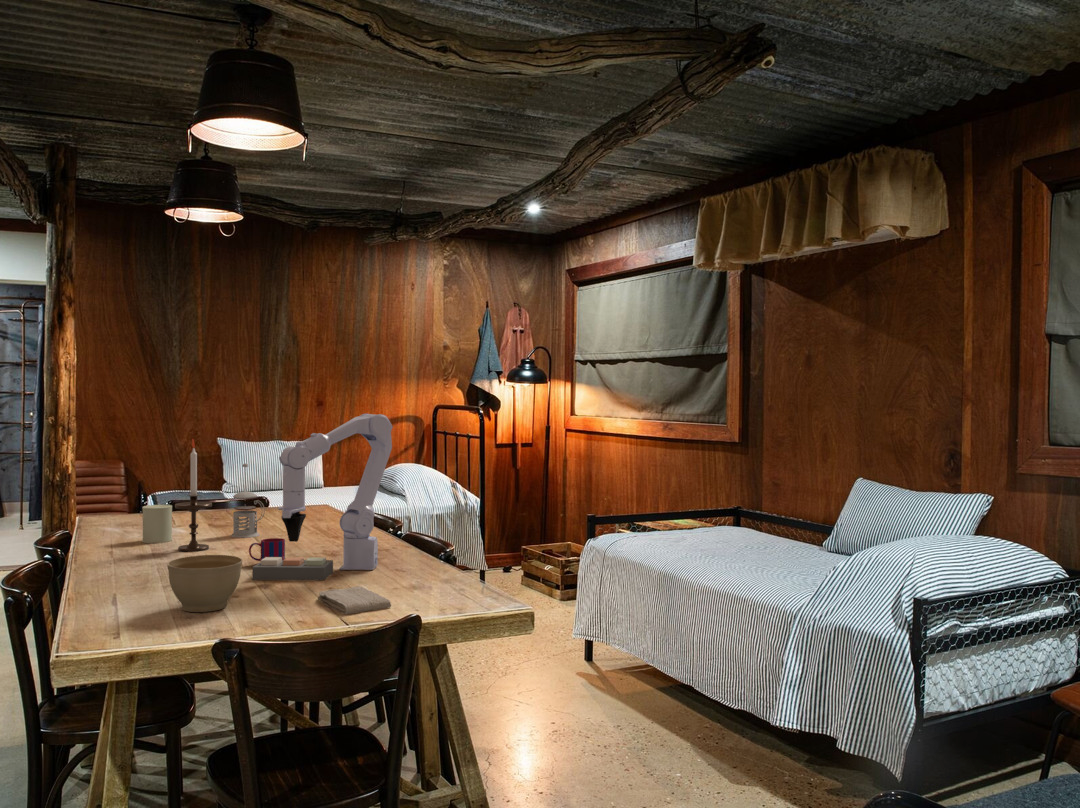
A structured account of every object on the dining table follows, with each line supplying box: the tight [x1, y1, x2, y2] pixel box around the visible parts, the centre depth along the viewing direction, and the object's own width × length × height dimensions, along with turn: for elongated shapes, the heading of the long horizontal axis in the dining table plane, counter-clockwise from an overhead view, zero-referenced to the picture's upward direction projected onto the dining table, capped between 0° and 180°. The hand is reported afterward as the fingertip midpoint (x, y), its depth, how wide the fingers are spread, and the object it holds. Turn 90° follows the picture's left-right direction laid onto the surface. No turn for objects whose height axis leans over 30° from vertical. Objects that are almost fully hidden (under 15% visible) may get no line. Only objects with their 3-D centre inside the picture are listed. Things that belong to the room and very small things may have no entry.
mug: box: [248, 537, 286, 562], centre depth 253 cm, size 7×10×7 cm
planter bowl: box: [166, 554, 243, 613], centre depth 201 cm, size 16×16×11 cm
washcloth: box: [317, 585, 392, 615], centre depth 206 cm, size 12×18×3 cm, turn 37°
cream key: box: [260, 557, 282, 565], centre depth 236 cm, size 4×4×2 cm
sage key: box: [305, 556, 327, 566], centre depth 236 cm, size 4×4×2 cm
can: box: [141, 503, 173, 544], centre depth 289 cm, size 9×9×12 cm
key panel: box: [251, 559, 334, 581], centre depth 236 cm, size 19×10×3 cm, turn 90°
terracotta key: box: [283, 556, 305, 566], centre depth 236 cm, size 4×4×2 cm
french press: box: [230, 463, 266, 539], centre depth 301 cm, size 10×12×25 cm
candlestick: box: [174, 438, 213, 553], centre depth 274 cm, size 11×11×35 cm
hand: (293, 541), depth 236 cm, fingers closed
